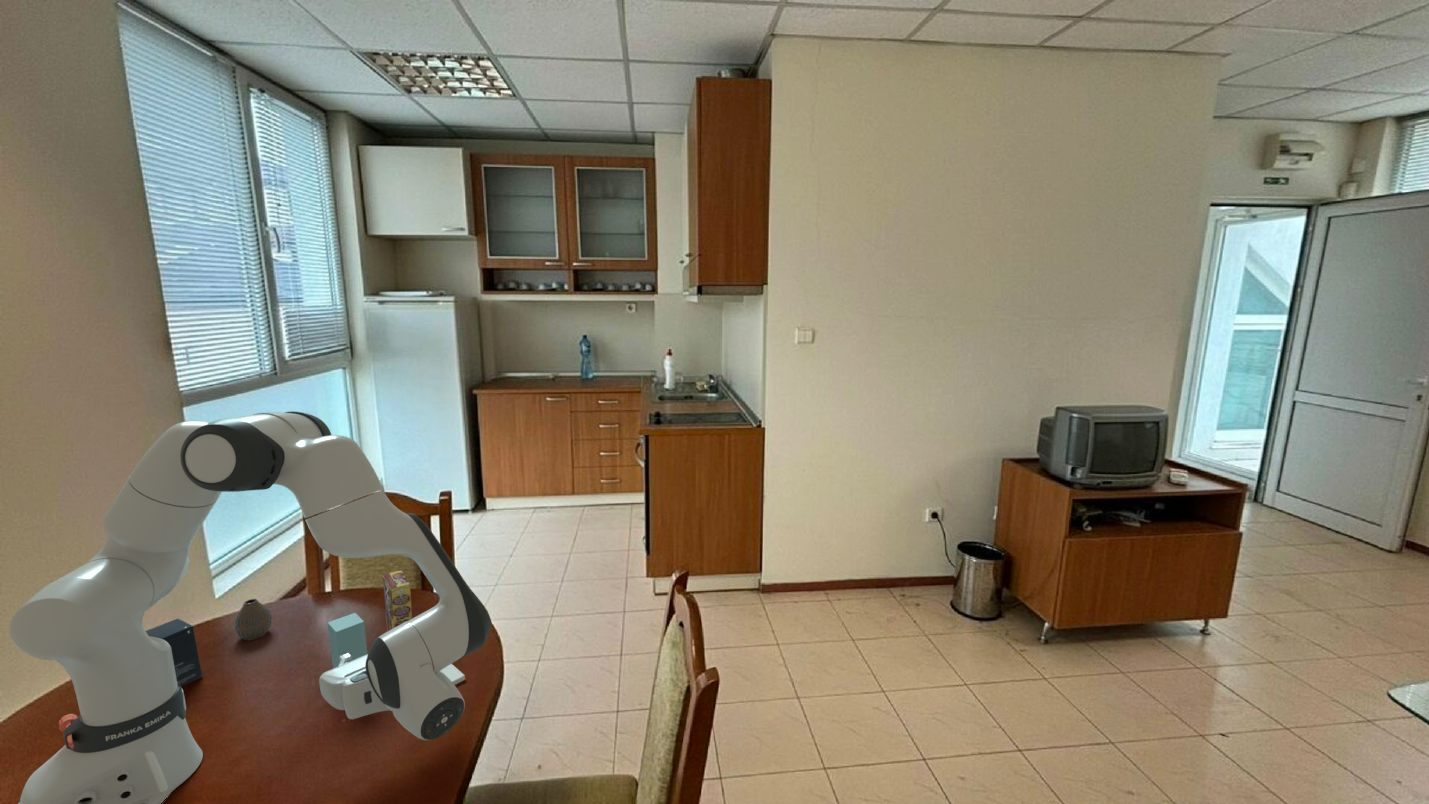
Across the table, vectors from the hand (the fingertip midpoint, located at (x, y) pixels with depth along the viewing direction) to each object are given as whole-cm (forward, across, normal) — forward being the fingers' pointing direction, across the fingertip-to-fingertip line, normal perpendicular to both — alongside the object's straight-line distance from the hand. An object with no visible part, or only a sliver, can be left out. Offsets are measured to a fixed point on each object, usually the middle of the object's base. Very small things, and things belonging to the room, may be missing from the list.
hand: (372, 646), depth 109 cm
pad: (+3, -10, +14) cm, 18 cm away
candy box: (+22, -12, +14) cm, 29 cm away
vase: (+50, +9, +14) cm, 52 cm away
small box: (+40, +28, +14) cm, 51 cm away
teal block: (+14, 0, +14) cm, 20 cm away
